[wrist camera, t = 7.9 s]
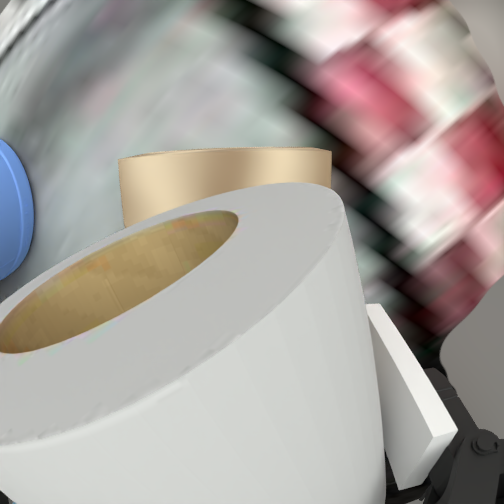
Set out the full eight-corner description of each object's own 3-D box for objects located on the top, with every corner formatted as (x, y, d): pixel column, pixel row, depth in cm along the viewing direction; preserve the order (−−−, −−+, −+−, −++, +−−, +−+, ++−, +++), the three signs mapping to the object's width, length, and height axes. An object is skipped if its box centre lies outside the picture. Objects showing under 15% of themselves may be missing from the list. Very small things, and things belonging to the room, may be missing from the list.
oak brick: (164, 295, 29) (144, 338, 23) (150, 152, 25) (118, 159, 18) (305, 293, 29) (320, 337, 23) (310, 147, 25) (331, 151, 18)
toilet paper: (353, 379, 14) (414, 572, 5) (163, 422, 15) (126, 590, 6) (297, 166, 11) (520, 348, 1) (60, 254, 12) (-110, 416, 2)
